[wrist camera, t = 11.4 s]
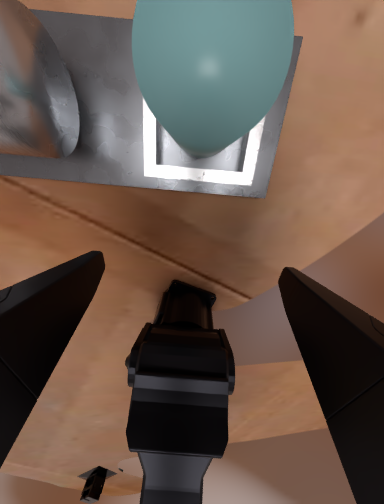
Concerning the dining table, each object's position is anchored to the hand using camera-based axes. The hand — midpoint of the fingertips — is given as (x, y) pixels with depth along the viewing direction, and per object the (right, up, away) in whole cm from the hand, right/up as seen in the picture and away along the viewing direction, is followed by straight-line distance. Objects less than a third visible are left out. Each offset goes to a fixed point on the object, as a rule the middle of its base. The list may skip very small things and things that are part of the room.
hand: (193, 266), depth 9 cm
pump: (+1, +13, +7) cm, 15 cm away
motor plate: (-6, +13, +9) cm, 17 cm away
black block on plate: (-26, -60, +42) cm, 78 cm away
